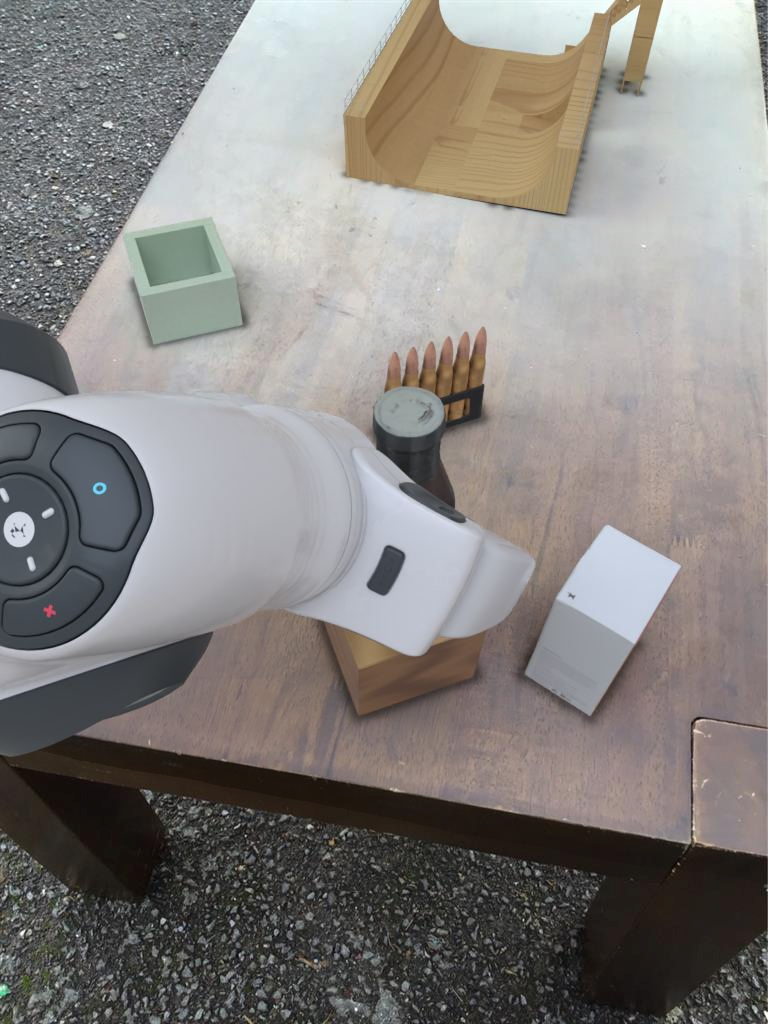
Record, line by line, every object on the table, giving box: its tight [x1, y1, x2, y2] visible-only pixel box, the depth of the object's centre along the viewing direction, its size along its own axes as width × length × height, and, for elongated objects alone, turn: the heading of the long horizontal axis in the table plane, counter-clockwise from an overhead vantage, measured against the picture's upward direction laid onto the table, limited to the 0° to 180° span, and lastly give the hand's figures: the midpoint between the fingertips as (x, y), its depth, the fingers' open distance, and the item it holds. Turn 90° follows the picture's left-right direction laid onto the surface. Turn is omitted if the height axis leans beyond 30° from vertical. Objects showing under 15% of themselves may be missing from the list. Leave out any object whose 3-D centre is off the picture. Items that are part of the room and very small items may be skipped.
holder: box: [121, 216, 244, 346], centre depth 90 cm, size 10×11×7 cm
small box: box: [523, 524, 682, 717], centre depth 63 cm, size 8×6×13 cm
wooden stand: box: [323, 621, 487, 717], centre depth 64 cm, size 10×9×9 cm
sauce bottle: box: [372, 386, 456, 510], centre depth 52 cm, size 6×6×20 cm
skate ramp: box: [342, 0, 664, 215], centre depth 111 cm, size 40×35×16 cm
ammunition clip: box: [383, 326, 488, 430], centre depth 78 cm, size 11×2×12 cm, turn 114°
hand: (401, 494), depth 50 cm, fingers open, 8 cm apart
